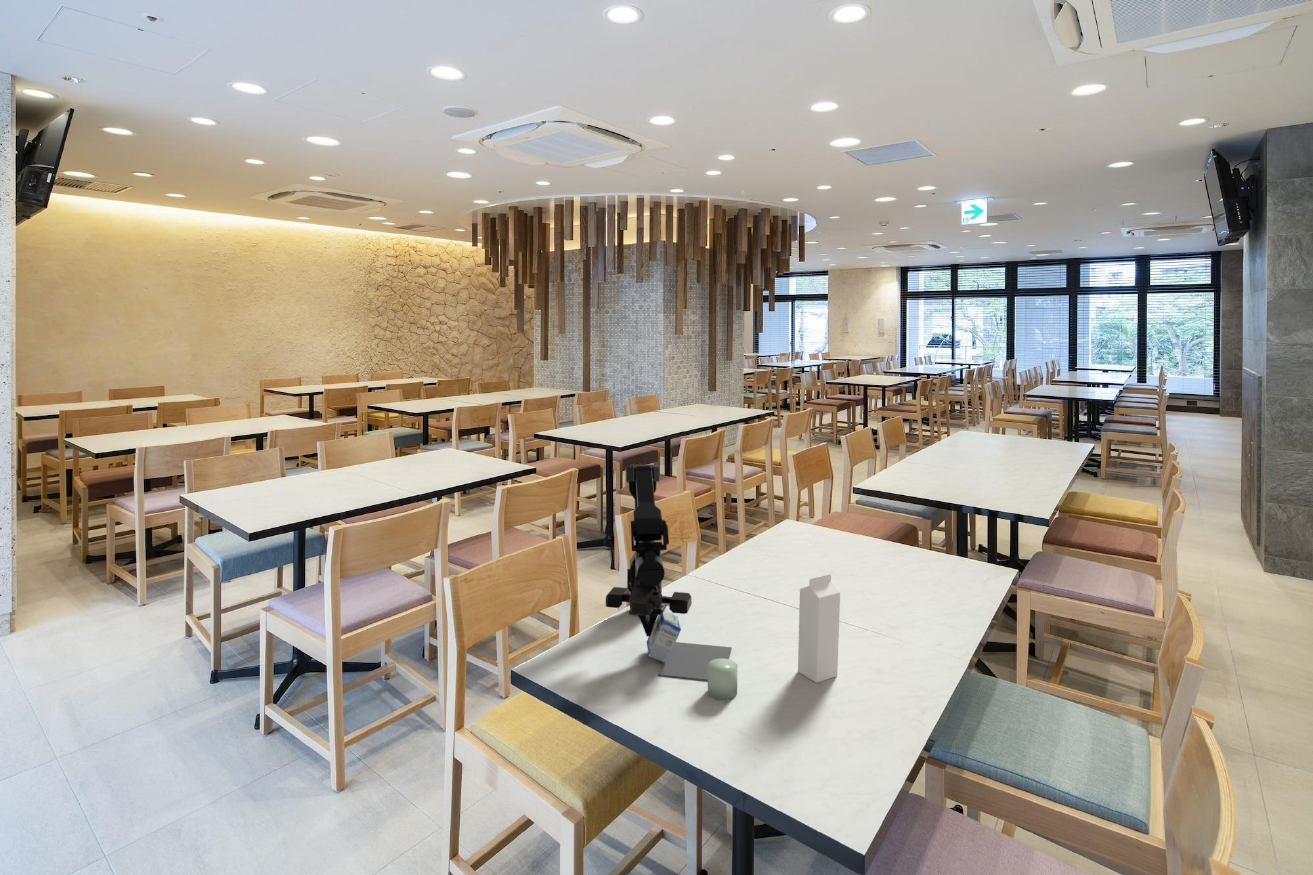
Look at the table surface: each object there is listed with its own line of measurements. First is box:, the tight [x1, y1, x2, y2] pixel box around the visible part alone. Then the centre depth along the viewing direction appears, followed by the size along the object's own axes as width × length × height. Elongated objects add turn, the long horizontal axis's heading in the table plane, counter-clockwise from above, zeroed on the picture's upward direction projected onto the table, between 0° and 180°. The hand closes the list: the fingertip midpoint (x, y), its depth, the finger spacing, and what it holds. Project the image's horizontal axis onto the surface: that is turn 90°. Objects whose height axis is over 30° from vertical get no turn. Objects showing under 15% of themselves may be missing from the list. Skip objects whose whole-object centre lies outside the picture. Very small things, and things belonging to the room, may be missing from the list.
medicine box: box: [646, 610, 682, 663], centre depth 157 cm, size 8×4×9 cm, turn 5°
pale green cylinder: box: [707, 658, 738, 701], centre depth 141 cm, size 6×6×6 cm
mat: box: [657, 641, 732, 682], centre depth 155 cm, size 14×16×1 cm
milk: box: [797, 573, 841, 684], centre depth 147 cm, size 6×6×22 cm
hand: (649, 635), depth 156 cm, fingers closed
